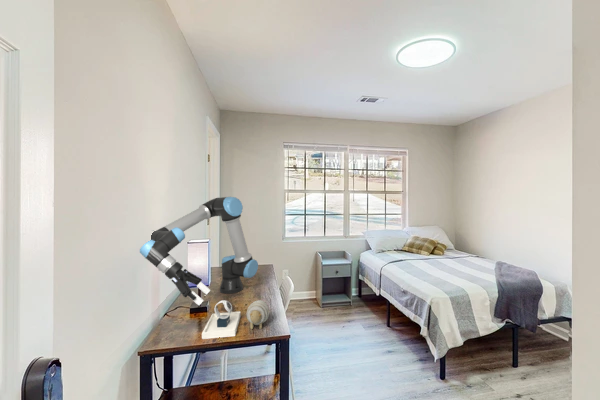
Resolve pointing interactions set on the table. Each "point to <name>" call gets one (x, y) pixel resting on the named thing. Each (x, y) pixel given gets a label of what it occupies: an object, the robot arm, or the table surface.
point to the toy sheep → (257, 313)
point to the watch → (223, 319)
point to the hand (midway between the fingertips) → (205, 297)
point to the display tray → (216, 332)
